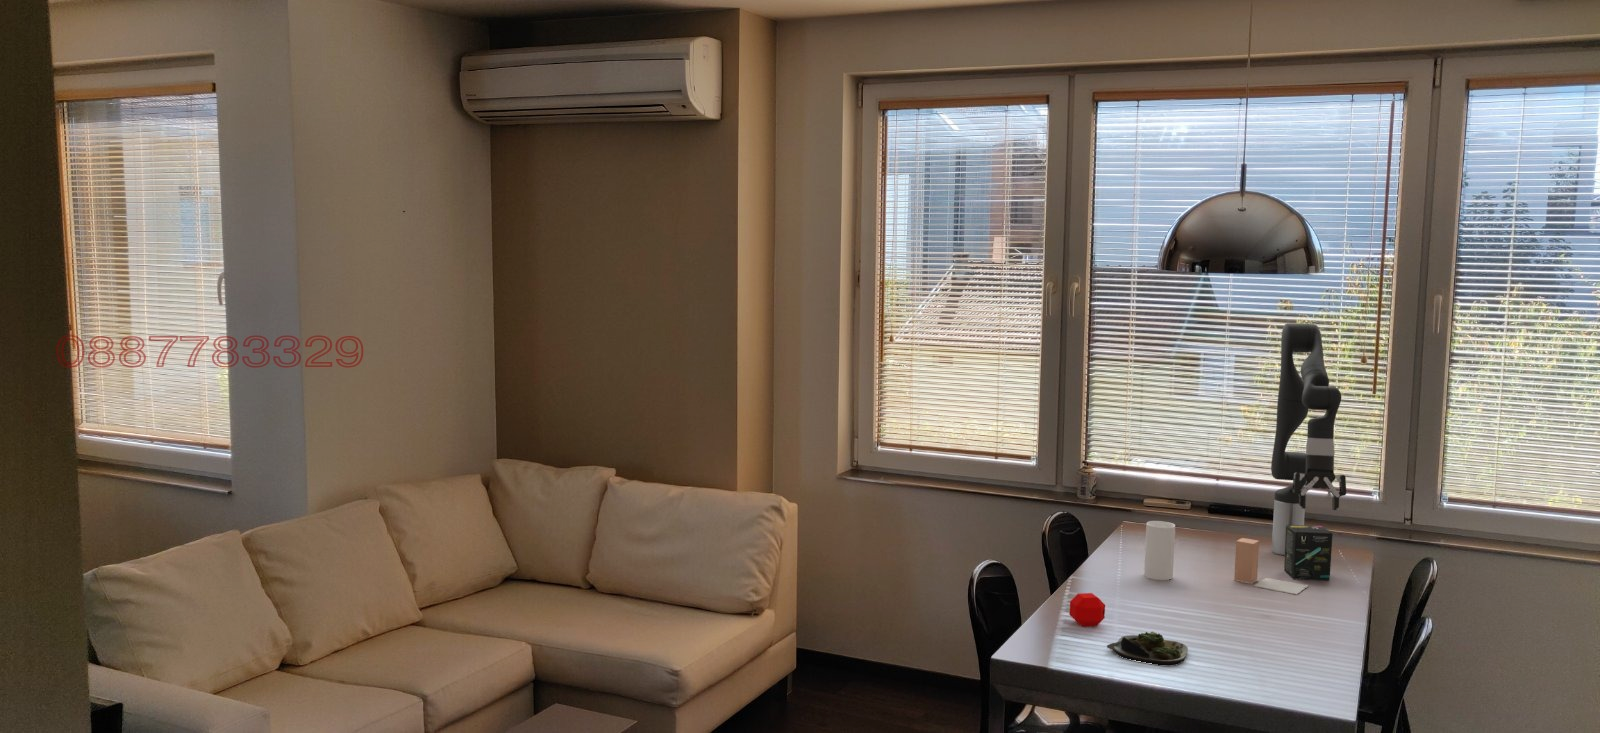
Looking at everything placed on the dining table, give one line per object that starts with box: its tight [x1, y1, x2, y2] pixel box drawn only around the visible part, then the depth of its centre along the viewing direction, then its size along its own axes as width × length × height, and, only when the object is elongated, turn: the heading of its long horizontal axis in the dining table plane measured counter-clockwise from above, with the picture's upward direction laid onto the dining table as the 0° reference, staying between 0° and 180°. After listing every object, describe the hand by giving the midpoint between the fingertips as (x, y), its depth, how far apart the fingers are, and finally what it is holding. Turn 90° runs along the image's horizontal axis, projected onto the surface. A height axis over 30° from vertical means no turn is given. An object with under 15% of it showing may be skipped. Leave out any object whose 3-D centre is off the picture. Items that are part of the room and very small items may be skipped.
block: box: [1233, 537, 1260, 585], centre depth 336 cm, size 5×5×12 cm
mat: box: [1253, 577, 1309, 596], centre depth 331 cm, size 11×12×1 cm
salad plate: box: [1106, 631, 1189, 666], centre depth 275 cm, size 19×18×5 cm
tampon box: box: [1283, 525, 1333, 581], centre depth 342 cm, size 11×9×15 cm
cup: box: [1143, 520, 1176, 581], centre depth 339 cm, size 8×8×16 cm
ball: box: [1069, 592, 1106, 628], centre depth 294 cm, size 8×8×8 cm
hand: (1318, 509), depth 332 cm, fingers open, 8 cm apart
